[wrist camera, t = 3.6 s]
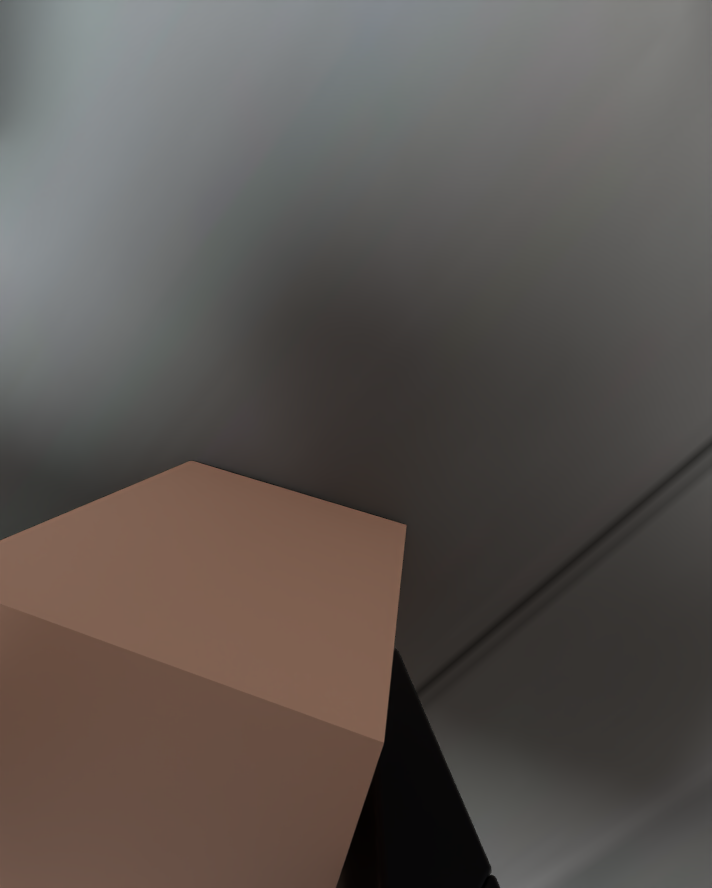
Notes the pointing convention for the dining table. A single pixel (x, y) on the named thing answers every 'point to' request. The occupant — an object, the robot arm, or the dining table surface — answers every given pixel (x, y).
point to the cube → (193, 685)
